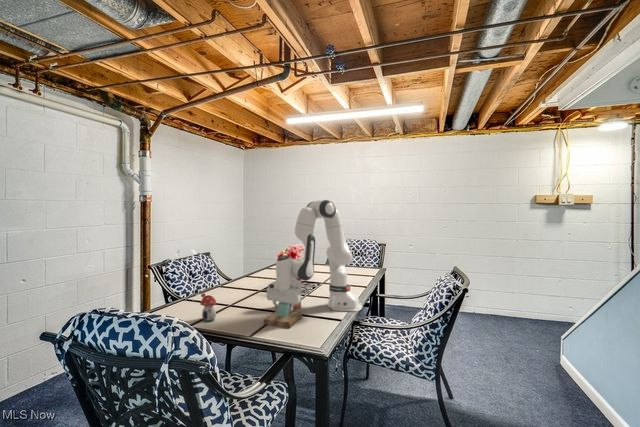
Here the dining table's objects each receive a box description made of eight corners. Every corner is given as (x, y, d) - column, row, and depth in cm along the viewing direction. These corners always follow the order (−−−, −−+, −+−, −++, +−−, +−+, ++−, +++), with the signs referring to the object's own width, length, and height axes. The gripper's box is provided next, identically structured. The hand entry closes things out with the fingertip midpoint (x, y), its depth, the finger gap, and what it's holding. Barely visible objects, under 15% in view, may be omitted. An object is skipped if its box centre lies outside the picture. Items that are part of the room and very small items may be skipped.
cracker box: (279, 309, 189) (279, 276, 188) (279, 305, 195) (279, 274, 194) (301, 308, 190) (301, 275, 189) (301, 305, 196) (301, 273, 195)
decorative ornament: (198, 320, 171) (198, 293, 170) (207, 316, 177) (207, 291, 176) (209, 323, 166) (209, 296, 166) (218, 319, 172) (218, 293, 172)
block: (289, 314, 173) (289, 302, 172) (285, 317, 168) (285, 304, 168) (282, 312, 174) (282, 301, 174) (277, 316, 170) (277, 303, 169)
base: (302, 317, 175) (302, 312, 175) (290, 328, 160) (290, 322, 160) (277, 313, 181) (277, 308, 181) (263, 323, 166) (263, 318, 166)
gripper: (302, 285, 169) (302, 309, 170) (270, 281, 176) (270, 305, 177) (297, 288, 163) (297, 313, 164) (265, 284, 170) (265, 308, 171)
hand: (283, 309), depth 170 cm, fingers open, 8 cm apart
